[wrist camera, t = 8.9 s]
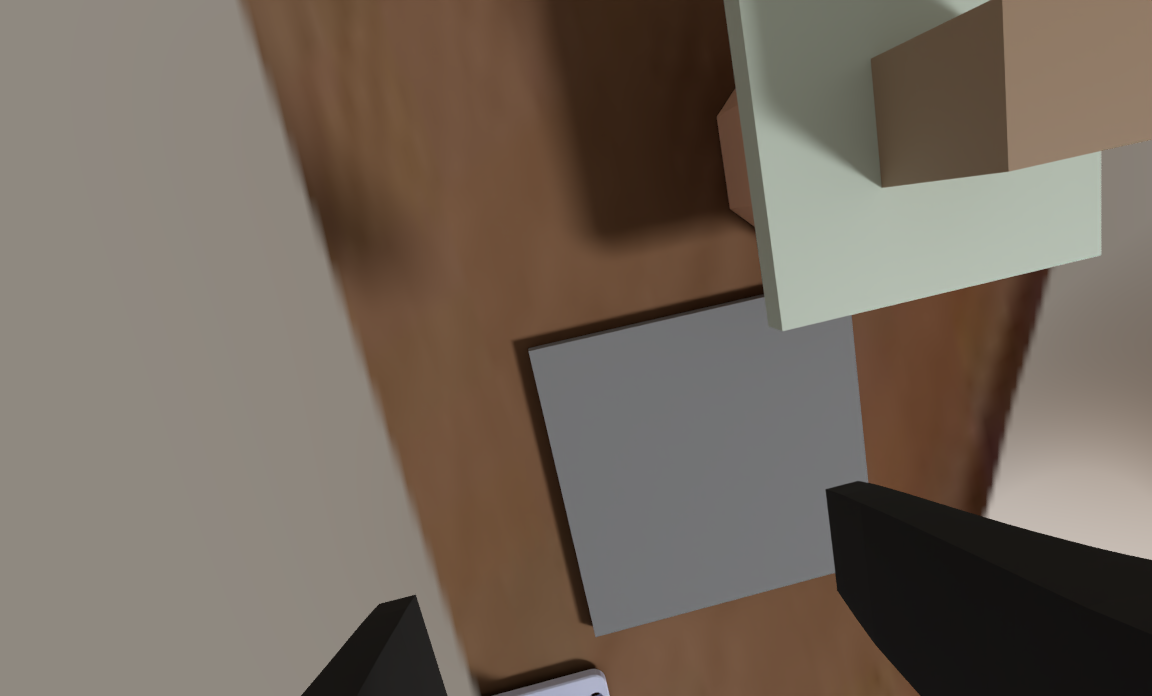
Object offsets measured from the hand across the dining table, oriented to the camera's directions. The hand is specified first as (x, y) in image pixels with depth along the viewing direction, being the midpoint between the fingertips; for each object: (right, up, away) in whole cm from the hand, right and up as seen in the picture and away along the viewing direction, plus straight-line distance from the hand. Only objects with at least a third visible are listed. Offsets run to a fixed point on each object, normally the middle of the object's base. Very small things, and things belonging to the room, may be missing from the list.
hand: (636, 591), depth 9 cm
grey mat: (+4, 0, +11) cm, 11 cm away
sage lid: (+8, +10, +5) cm, 14 cm away
